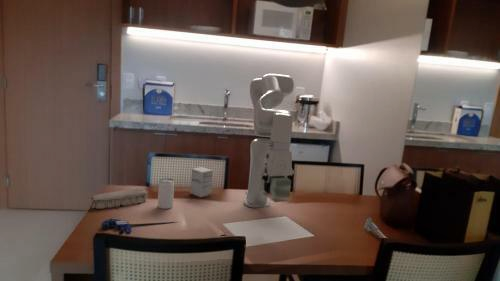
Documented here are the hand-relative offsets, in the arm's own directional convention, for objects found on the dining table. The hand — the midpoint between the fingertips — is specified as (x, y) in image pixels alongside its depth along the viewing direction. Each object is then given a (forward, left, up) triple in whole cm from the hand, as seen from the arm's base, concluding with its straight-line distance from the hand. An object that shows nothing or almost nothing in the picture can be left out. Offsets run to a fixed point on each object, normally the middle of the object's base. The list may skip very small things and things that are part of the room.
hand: (274, 191), depth 144 cm
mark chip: (-2, -18, -18) cm, 25 cm away
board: (0, -1, -17) cm, 17 cm away
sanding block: (0, 0, -2) cm, 2 cm away
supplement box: (-49, -10, -17) cm, 53 cm away
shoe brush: (-45, -49, -18) cm, 69 cm away
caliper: (+19, +41, -18) cm, 48 cm away
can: (-37, -31, -17) cm, 51 cm away
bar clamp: (-19, -43, -18) cm, 50 cm away
